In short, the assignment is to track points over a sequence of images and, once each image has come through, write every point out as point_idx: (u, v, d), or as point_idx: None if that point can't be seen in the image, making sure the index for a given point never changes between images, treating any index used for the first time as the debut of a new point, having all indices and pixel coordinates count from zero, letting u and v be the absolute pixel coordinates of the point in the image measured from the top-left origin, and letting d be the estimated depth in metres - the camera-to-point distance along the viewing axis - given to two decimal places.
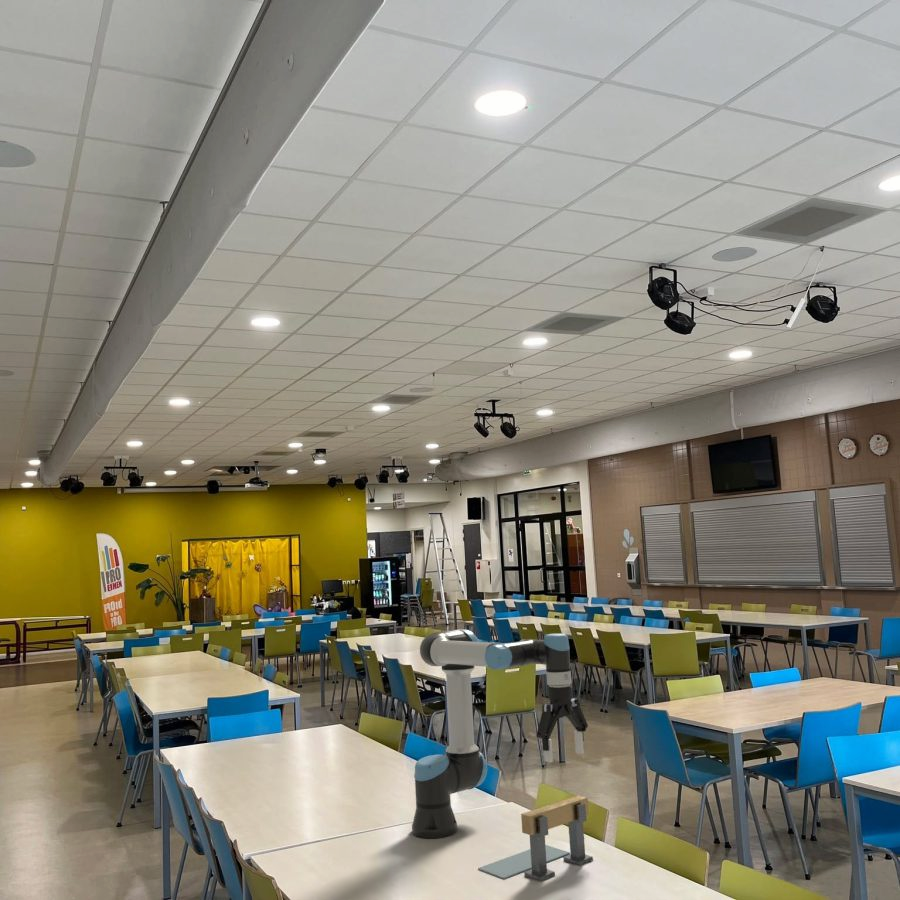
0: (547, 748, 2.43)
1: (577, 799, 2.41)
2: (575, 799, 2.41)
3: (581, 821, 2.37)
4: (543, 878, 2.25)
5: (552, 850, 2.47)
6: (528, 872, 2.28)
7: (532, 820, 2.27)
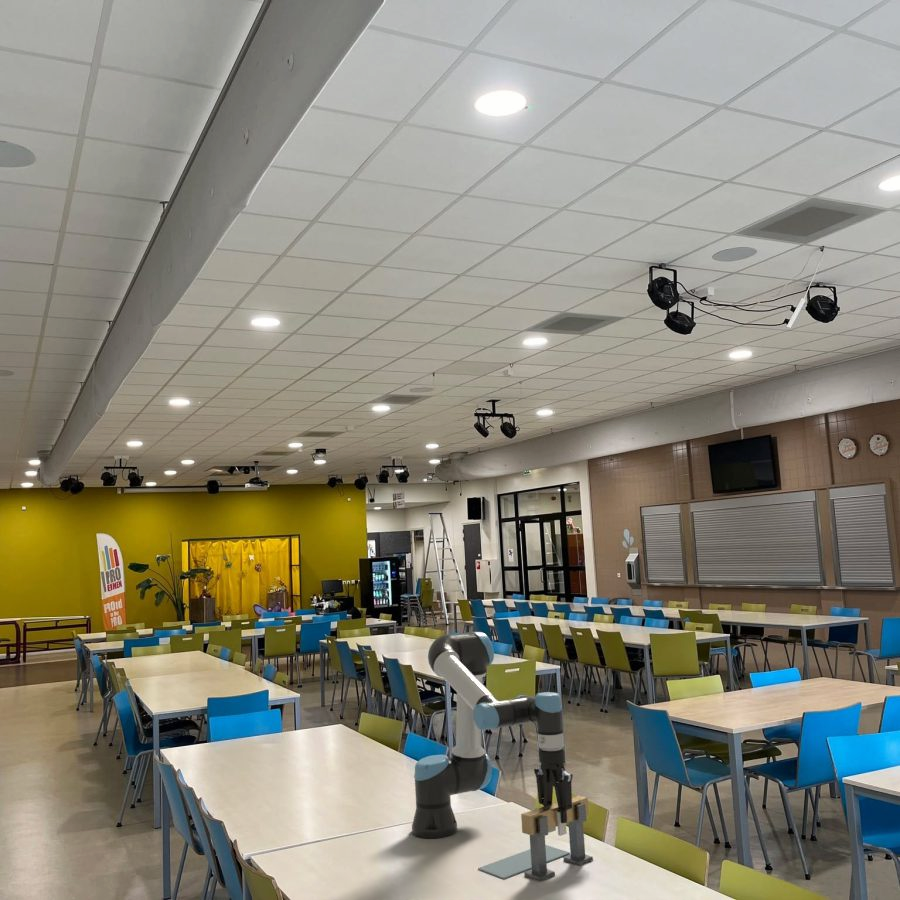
0: None
1: (577, 799, 2.41)
2: (575, 799, 2.41)
3: (581, 821, 2.37)
4: (543, 878, 2.25)
5: (552, 850, 2.47)
6: (528, 872, 2.28)
7: (532, 820, 2.27)
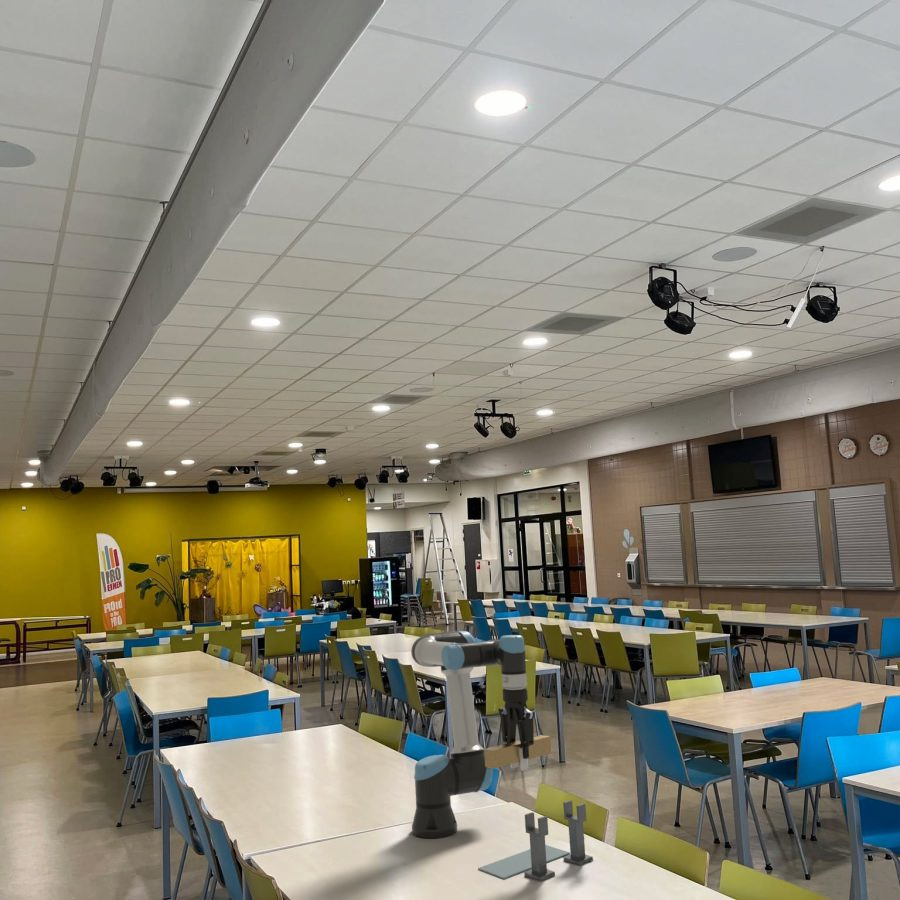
0: None
1: (540, 737, 2.49)
2: (538, 737, 2.50)
3: (581, 821, 2.37)
4: (543, 878, 2.25)
5: (552, 850, 2.47)
6: (528, 872, 2.28)
7: (495, 754, 2.36)
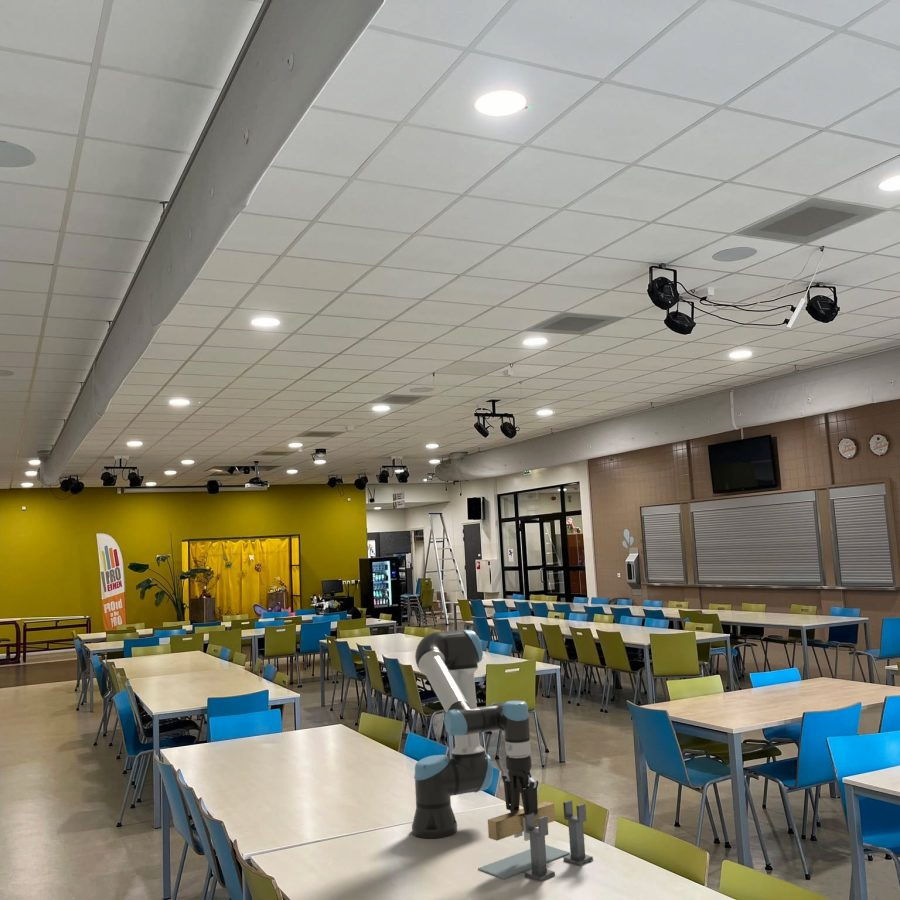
0: None
1: (544, 805, 2.47)
2: (542, 805, 2.47)
3: (581, 821, 2.37)
4: (543, 878, 2.25)
5: (552, 850, 2.47)
6: (528, 872, 2.28)
7: (498, 826, 2.33)
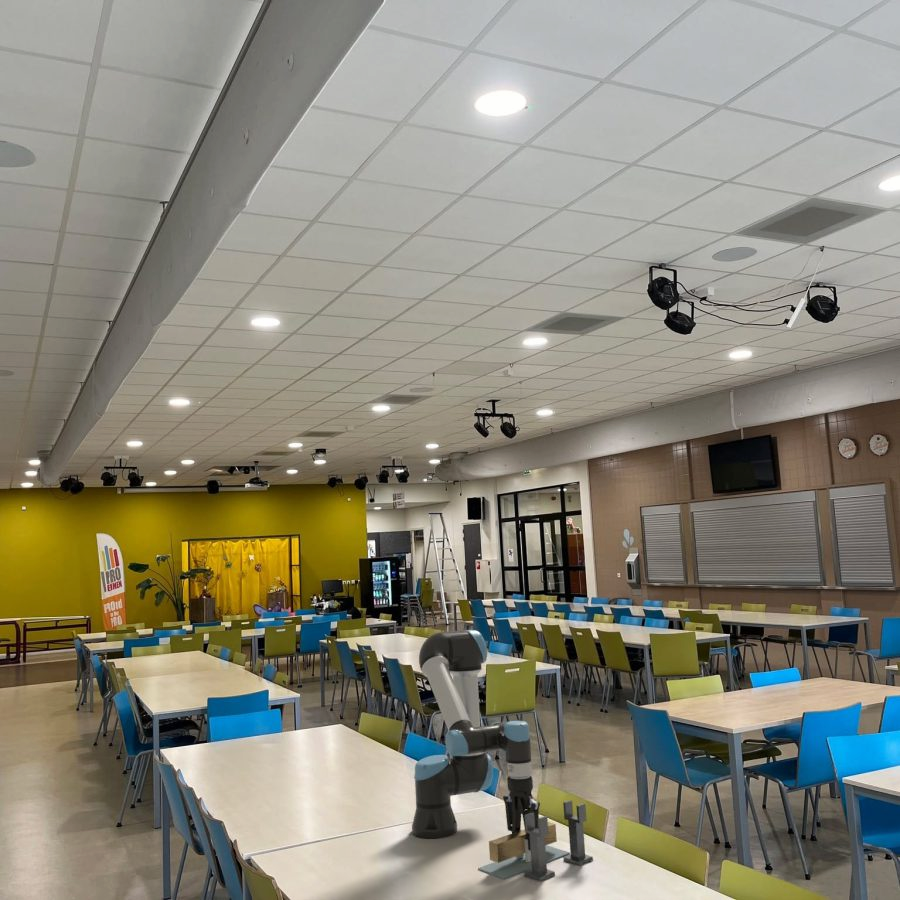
0: None
1: None
2: None
3: (581, 821, 2.37)
4: (543, 878, 2.25)
5: (552, 850, 2.47)
6: (528, 872, 2.28)
7: (499, 848, 2.32)
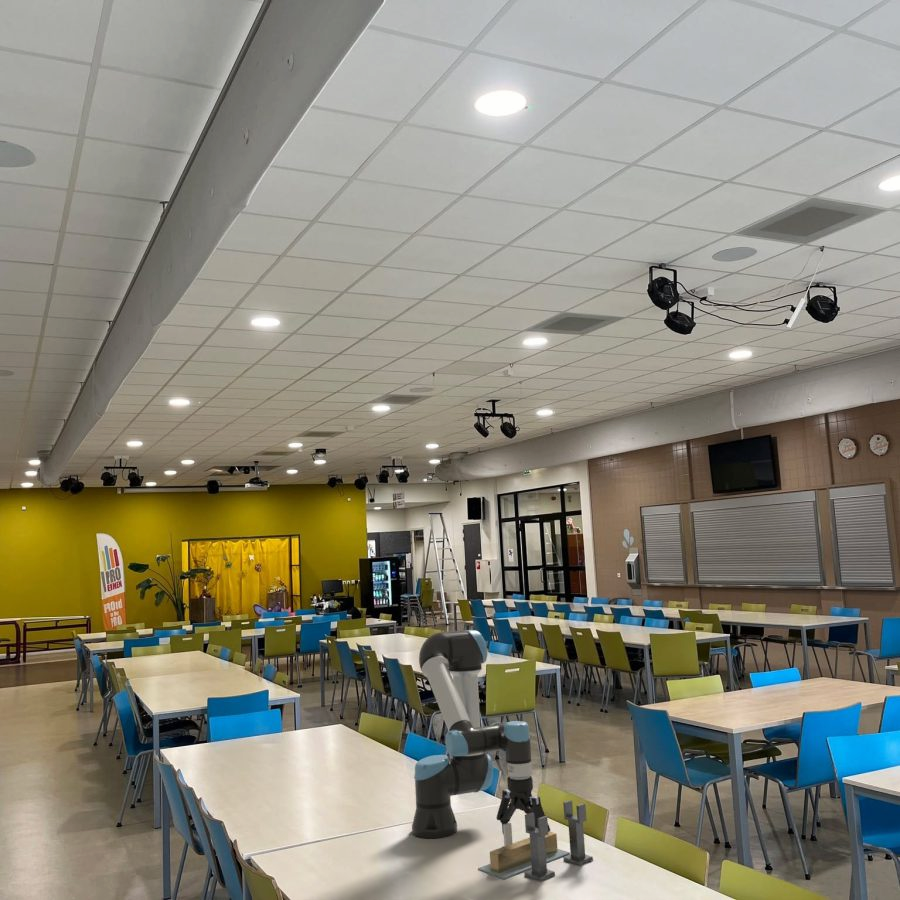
0: (503, 832, 2.46)
1: (546, 835, 2.45)
2: None
3: (581, 821, 2.37)
4: (543, 878, 2.25)
5: None
6: (528, 872, 2.28)
7: (500, 858, 2.32)
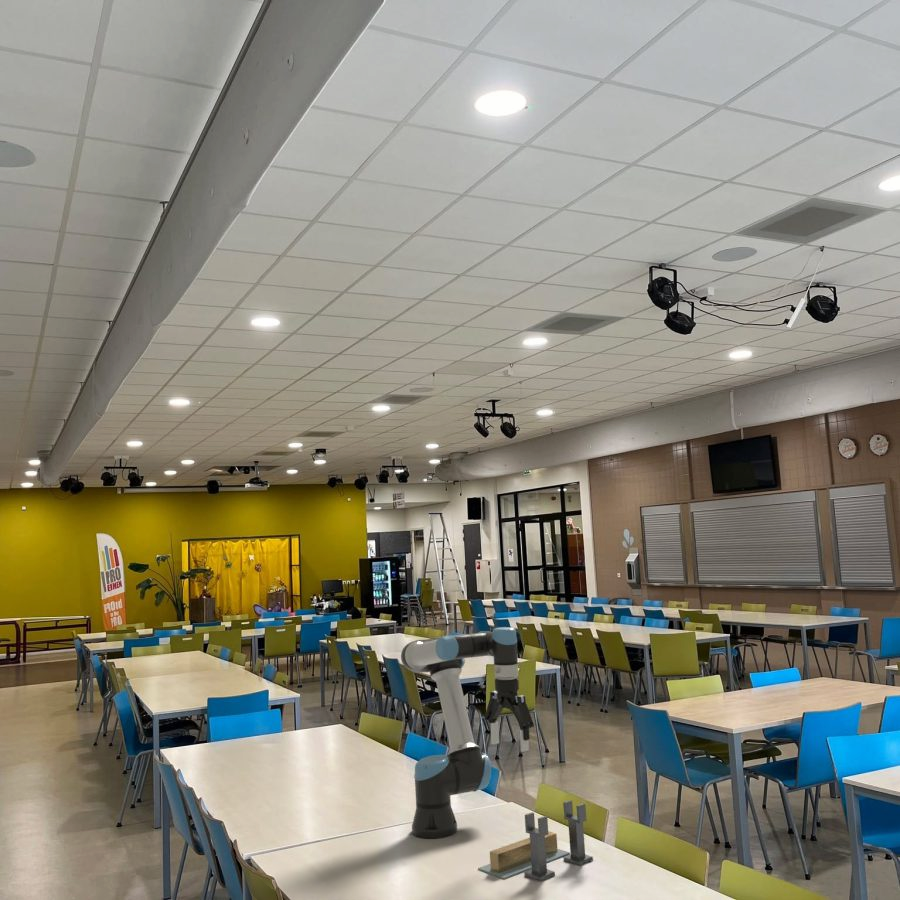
0: (491, 730, 2.61)
1: (546, 835, 2.45)
2: None
3: (581, 821, 2.37)
4: (543, 878, 2.25)
5: None
6: (528, 872, 2.28)
7: (500, 858, 2.32)
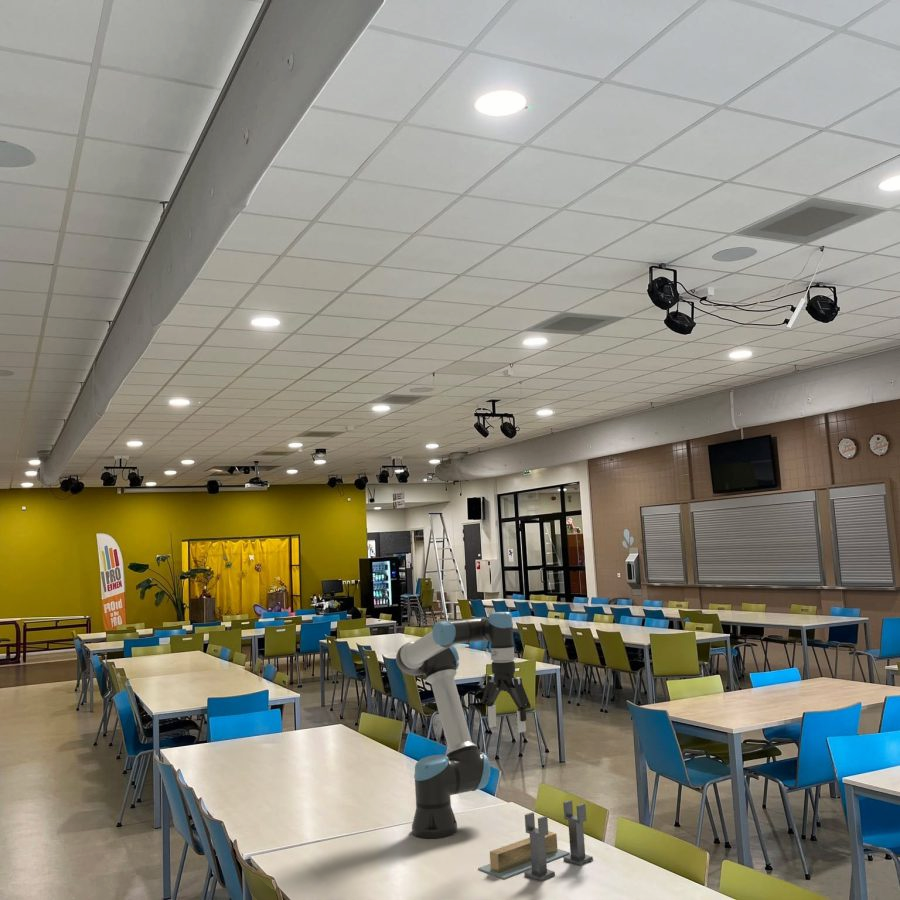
0: None
1: (546, 835, 2.45)
2: None
3: (581, 821, 2.37)
4: (543, 878, 2.25)
5: None
6: (528, 872, 2.28)
7: (500, 858, 2.32)
